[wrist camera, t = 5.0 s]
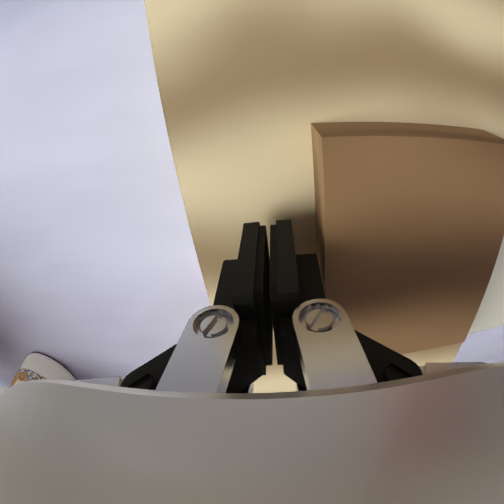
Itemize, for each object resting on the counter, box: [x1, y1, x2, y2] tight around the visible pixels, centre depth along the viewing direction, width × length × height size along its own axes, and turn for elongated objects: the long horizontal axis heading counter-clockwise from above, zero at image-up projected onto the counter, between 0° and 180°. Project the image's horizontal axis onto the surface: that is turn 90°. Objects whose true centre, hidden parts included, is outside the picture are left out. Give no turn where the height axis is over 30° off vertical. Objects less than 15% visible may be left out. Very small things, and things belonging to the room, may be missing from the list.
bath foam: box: [10, 353, 75, 387], centre depth 18 cm, size 7×7×20 cm
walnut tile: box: [311, 122, 504, 354], centre depth 10 cm, size 9×7×2 cm
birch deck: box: [145, 0, 504, 393], centre depth 13 cm, size 22×14×4 cm, turn 8°
